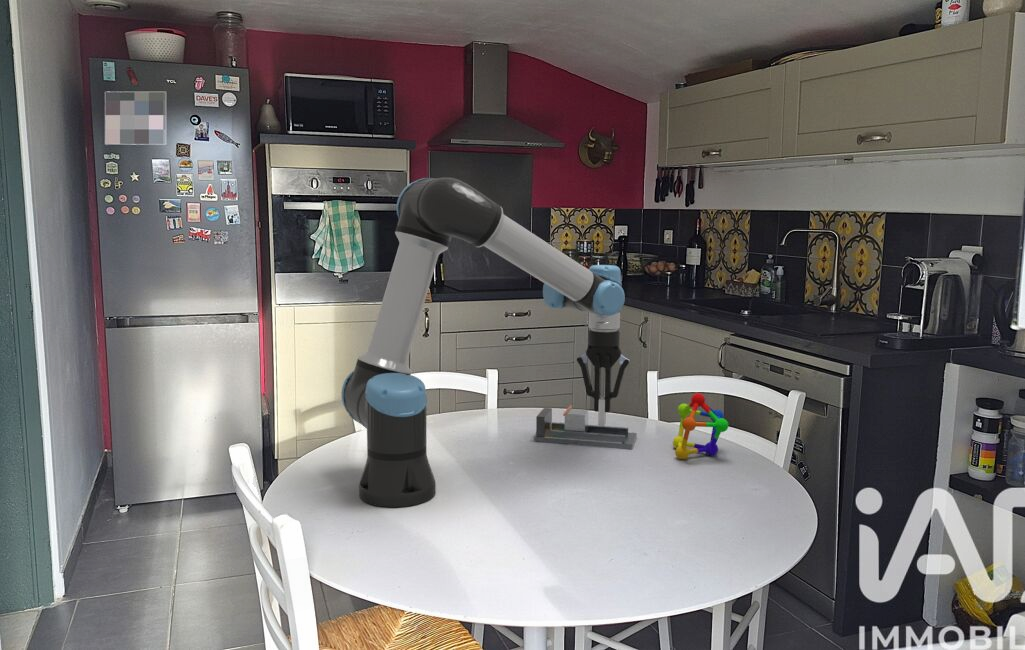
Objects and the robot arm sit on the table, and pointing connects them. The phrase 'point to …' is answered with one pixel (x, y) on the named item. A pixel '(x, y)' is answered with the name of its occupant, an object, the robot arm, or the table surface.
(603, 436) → the base
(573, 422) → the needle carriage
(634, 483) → the table surface
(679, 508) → the table surface
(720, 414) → the educational toy
